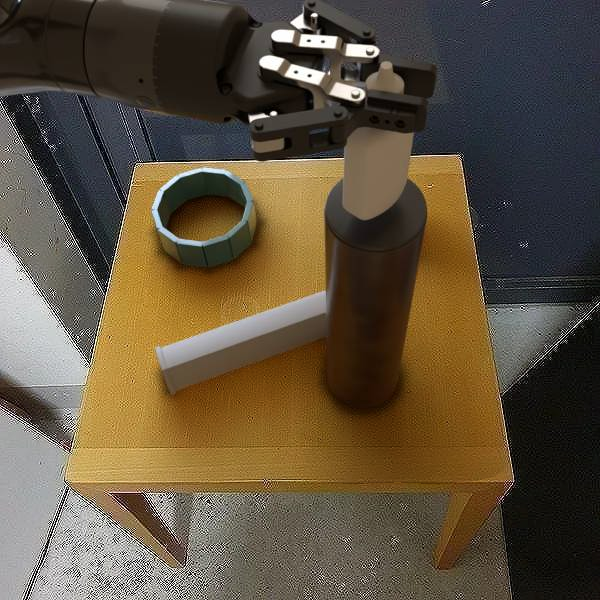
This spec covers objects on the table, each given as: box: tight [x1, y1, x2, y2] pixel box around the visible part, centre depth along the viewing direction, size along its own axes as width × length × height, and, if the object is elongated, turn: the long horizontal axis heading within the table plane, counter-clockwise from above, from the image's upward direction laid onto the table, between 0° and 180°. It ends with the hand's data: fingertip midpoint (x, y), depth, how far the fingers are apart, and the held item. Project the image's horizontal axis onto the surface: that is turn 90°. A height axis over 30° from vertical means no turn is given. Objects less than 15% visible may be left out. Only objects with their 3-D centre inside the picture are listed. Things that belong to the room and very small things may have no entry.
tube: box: [154, 289, 327, 396], centre depth 79 cm, size 5×5×25 cm
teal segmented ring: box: [150, 166, 258, 268], centre depth 89 cm, size 13×13×4 cm
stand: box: [323, 177, 428, 409], centre depth 66 cm, size 8×8×30 cm
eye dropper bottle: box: [342, 61, 415, 220], centre depth 47 cm, size 4×6×12 cm
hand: (429, 98), depth 43 cm, fingers closed on eye dropper bottle, 2 cm apart
